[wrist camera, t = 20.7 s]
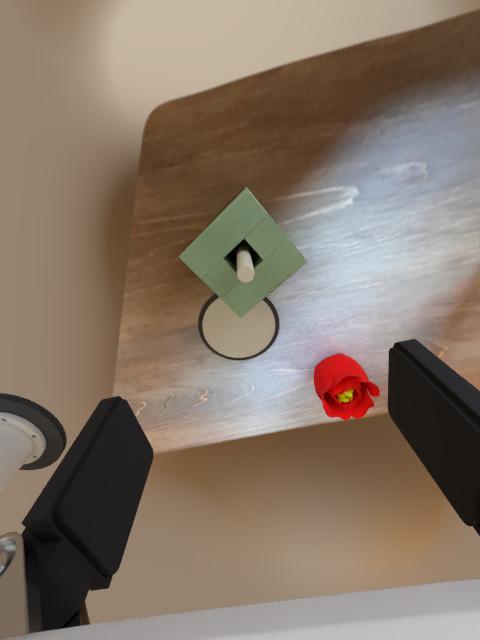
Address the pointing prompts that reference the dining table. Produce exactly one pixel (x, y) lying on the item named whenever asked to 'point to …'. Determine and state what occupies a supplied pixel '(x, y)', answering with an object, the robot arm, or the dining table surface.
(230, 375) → the dining table surface
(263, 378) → the dining table surface
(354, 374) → the flower
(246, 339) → the beige coaster disc
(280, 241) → the pen stand
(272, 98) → the dining table surface
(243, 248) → the pen
